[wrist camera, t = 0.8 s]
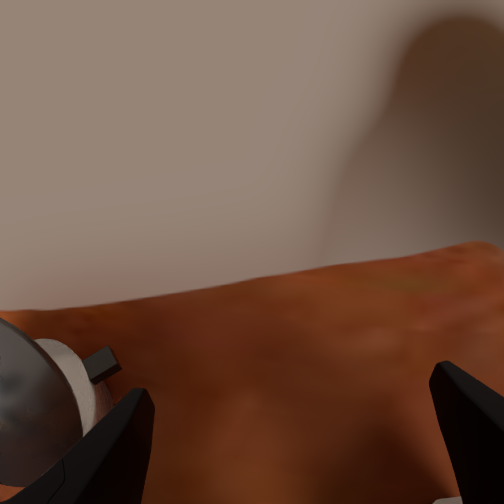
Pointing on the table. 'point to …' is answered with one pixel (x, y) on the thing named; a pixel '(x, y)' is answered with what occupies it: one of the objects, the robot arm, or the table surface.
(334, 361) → the table surface
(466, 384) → the robot arm
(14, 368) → the cooker lid
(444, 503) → the photo printer
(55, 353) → the cooker pot
